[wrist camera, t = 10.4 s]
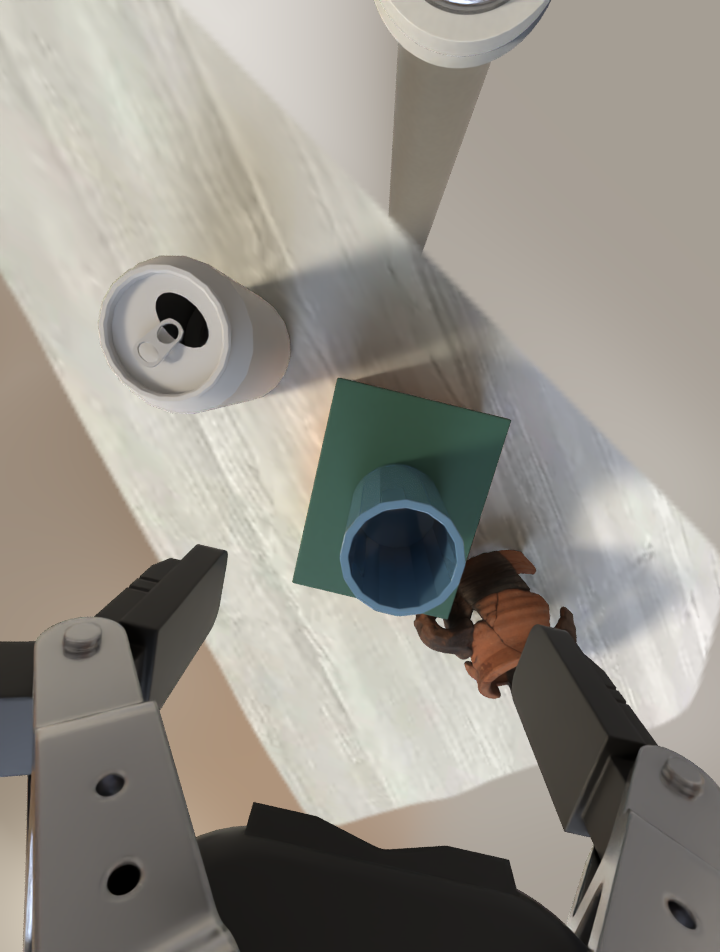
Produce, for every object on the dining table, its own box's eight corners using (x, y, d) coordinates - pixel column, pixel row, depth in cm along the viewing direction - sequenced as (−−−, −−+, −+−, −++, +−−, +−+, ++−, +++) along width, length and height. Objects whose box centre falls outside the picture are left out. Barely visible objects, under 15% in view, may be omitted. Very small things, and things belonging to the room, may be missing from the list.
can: (314, 349, 32) (277, 337, 20) (243, 422, 33) (170, 450, 22) (238, 267, 31) (151, 205, 19) (168, 346, 32) (47, 332, 20)
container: (344, 376, 32) (337, 377, 26) (487, 411, 32) (511, 419, 26) (306, 547, 35) (291, 583, 29) (436, 579, 35) (447, 620, 30)
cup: (363, 454, 27) (356, 487, 19) (451, 475, 27) (480, 517, 20) (342, 537, 29) (328, 600, 21) (427, 558, 29) (445, 628, 21)
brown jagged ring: (559, 540, 35) (622, 638, 29) (513, 609, 41) (557, 702, 35) (412, 543, 32) (448, 652, 26) (386, 616, 38) (410, 719, 32)
